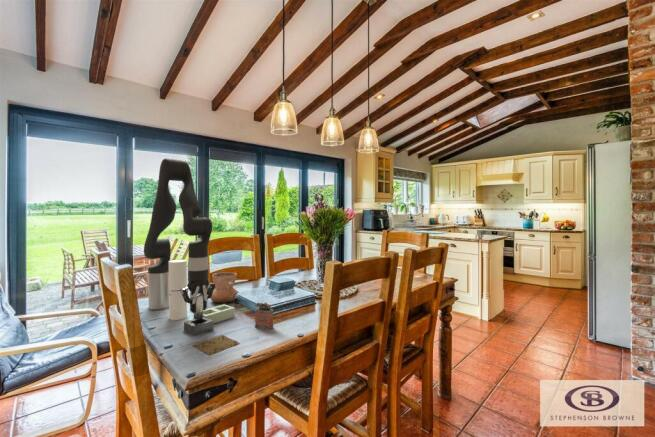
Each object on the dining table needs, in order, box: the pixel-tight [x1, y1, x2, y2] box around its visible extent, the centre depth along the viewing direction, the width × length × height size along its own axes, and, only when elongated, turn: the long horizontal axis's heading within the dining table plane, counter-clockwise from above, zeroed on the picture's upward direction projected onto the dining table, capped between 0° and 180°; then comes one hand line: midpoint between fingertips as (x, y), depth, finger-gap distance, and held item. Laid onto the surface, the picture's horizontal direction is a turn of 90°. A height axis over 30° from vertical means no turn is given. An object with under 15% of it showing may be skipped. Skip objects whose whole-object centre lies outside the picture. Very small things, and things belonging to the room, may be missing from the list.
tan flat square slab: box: [191, 334, 240, 356], centre depth 110 cm, size 12×12×1 cm
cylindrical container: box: [168, 259, 188, 321], centre depth 137 cm, size 7×7×25 cm
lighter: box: [254, 302, 274, 331], centre depth 125 cm, size 8×3×10 cm, turn 71°
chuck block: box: [183, 317, 215, 337], centre depth 122 cm, size 8×8×4 cm
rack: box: [203, 303, 236, 324], centre depth 135 cm, size 8×14×4 cm, turn 142°
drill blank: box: [193, 294, 203, 319], centre depth 122 cm, size 4×4×9 cm
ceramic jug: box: [209, 271, 240, 304], centre depth 162 cm, size 18×14×14 cm
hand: (198, 311), depth 122 cm, fingers closed on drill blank, 3 cm apart
